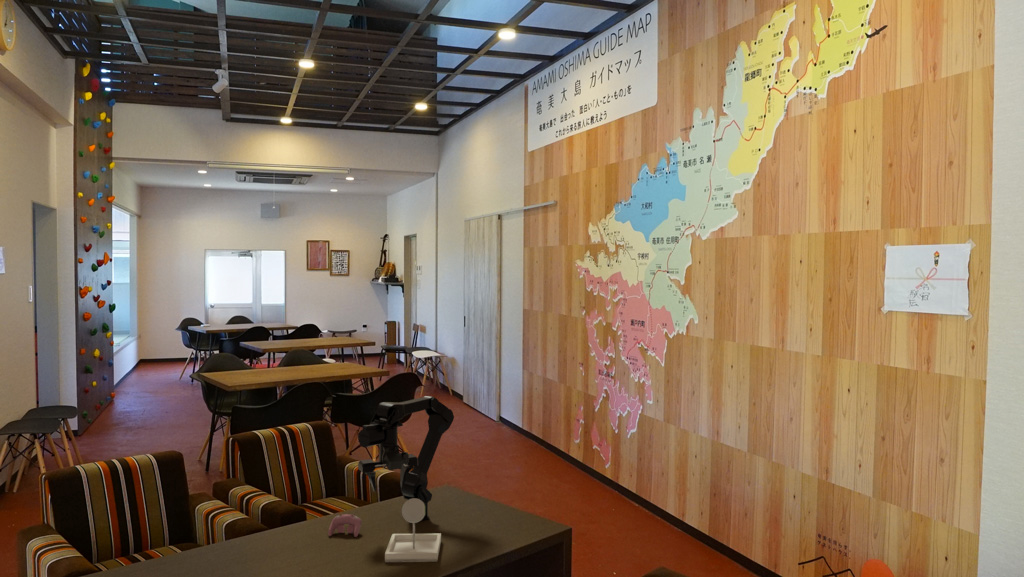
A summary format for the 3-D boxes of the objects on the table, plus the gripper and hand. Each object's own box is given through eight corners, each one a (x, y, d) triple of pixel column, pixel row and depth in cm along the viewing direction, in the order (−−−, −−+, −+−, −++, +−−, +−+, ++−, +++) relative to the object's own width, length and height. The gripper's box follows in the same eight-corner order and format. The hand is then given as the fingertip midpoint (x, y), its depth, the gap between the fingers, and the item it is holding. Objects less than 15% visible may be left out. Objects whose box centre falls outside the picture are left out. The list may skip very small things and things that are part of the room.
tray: (392, 541, 208) (392, 533, 208) (440, 541, 208) (440, 533, 208) (384, 562, 193) (384, 553, 193) (437, 561, 193) (437, 553, 193)
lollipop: (426, 552, 198) (426, 501, 197) (402, 554, 196) (402, 503, 196) (425, 543, 205) (424, 494, 204) (401, 544, 203) (401, 495, 203)
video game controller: (360, 538, 214) (363, 515, 217) (356, 536, 210) (360, 513, 213) (330, 537, 215) (334, 514, 218) (326, 535, 211) (329, 512, 214)
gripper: (367, 450, 206) (367, 501, 207) (424, 443, 215) (424, 492, 216) (357, 442, 216) (357, 490, 216) (412, 436, 225) (412, 482, 225)
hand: (388, 489), depth 218 cm, fingers open, 9 cm apart
